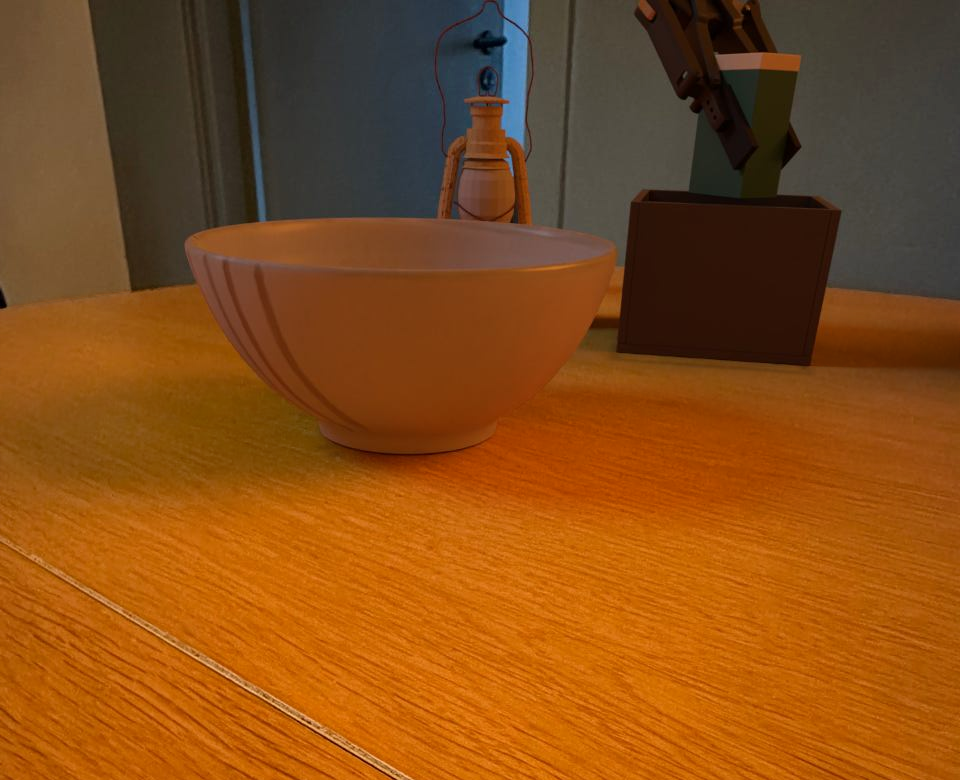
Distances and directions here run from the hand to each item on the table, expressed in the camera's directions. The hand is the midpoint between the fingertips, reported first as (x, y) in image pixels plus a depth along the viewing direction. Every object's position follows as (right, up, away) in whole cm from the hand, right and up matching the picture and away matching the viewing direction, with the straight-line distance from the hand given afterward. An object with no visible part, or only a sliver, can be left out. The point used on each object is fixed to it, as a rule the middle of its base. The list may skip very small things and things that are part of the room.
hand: (767, 157), depth 79 cm
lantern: (-25, +1, +34) cm, 42 cm away
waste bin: (-2, -12, +11) cm, 17 cm away
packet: (-2, -1, +4) cm, 5 cm away
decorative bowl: (-31, -28, -17) cm, 45 cm away
